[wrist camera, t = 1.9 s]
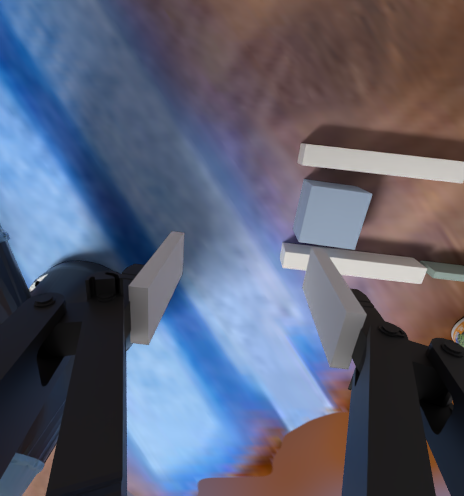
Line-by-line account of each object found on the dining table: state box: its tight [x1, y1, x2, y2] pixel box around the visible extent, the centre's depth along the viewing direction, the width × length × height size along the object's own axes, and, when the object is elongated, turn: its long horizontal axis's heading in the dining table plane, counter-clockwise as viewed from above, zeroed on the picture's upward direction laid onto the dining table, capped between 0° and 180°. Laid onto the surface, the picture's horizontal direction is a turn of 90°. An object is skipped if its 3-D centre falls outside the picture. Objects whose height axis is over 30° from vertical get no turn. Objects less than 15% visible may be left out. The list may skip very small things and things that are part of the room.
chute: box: [280, 143, 464, 284], centre depth 31 cm, size 16×14×3 cm
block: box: [293, 179, 372, 250], centre depth 31 cm, size 6×6×4 cm
